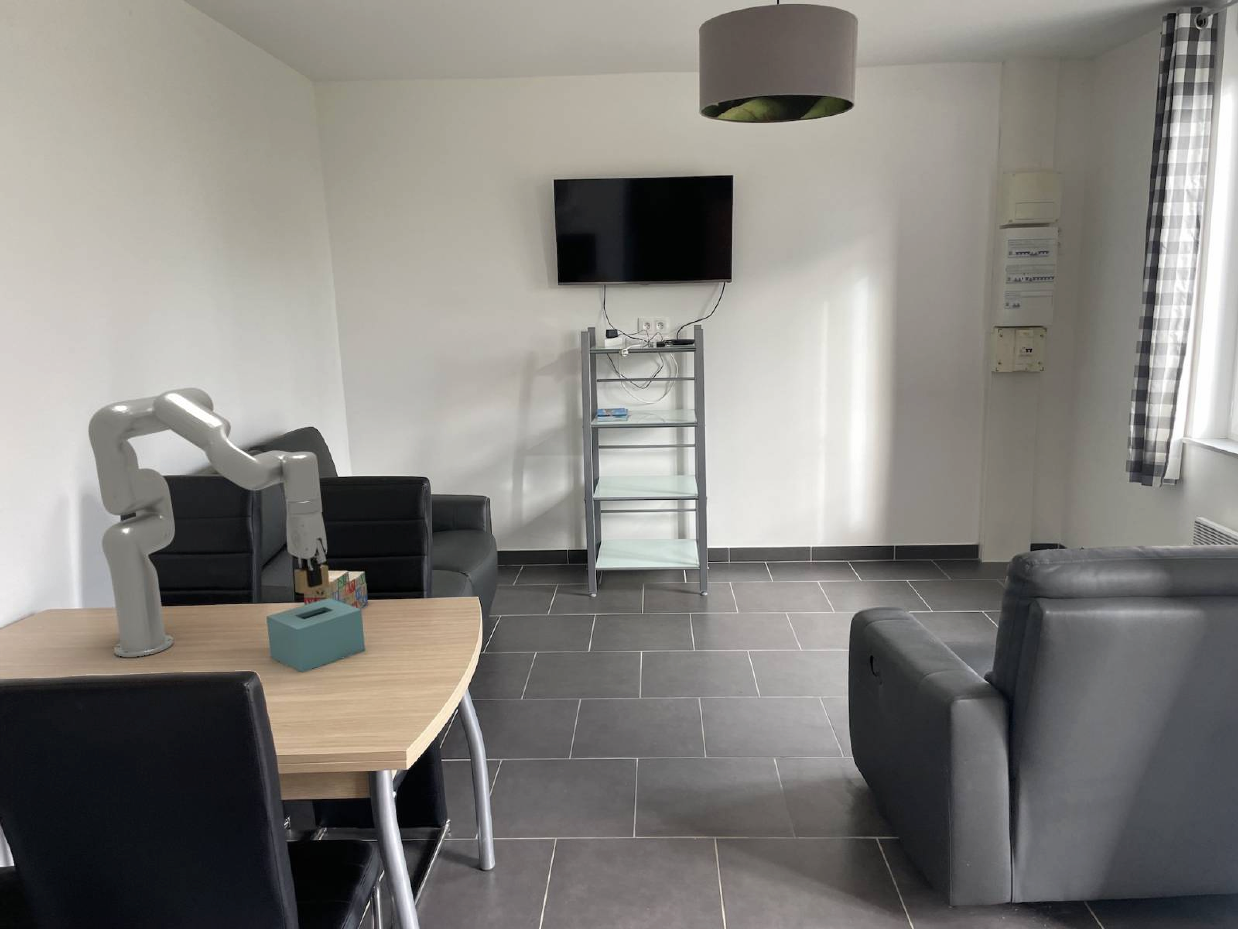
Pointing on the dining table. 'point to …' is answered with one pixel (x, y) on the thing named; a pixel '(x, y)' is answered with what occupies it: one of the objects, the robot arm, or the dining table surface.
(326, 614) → the coin box
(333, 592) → the stack of blocks
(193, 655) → the dining table surface
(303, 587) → the tan flat block
